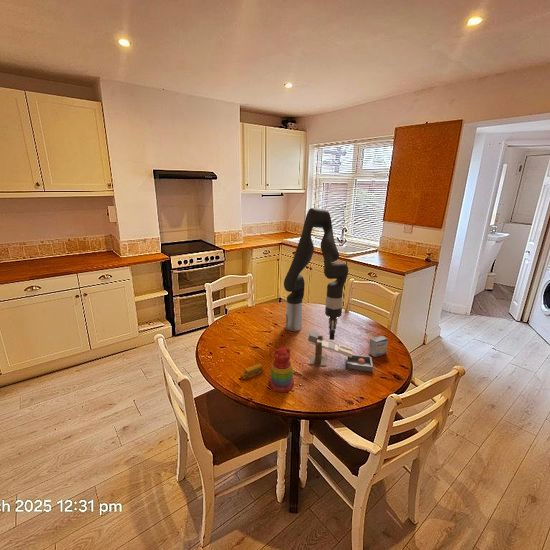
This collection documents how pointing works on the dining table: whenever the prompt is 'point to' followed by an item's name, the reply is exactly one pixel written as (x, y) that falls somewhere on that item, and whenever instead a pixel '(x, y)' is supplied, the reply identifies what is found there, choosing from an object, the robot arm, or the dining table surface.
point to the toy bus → (252, 371)
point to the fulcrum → (318, 355)
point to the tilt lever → (329, 345)
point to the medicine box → (378, 346)
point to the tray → (353, 364)
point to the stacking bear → (281, 371)
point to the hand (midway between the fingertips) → (331, 339)
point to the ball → (361, 361)
